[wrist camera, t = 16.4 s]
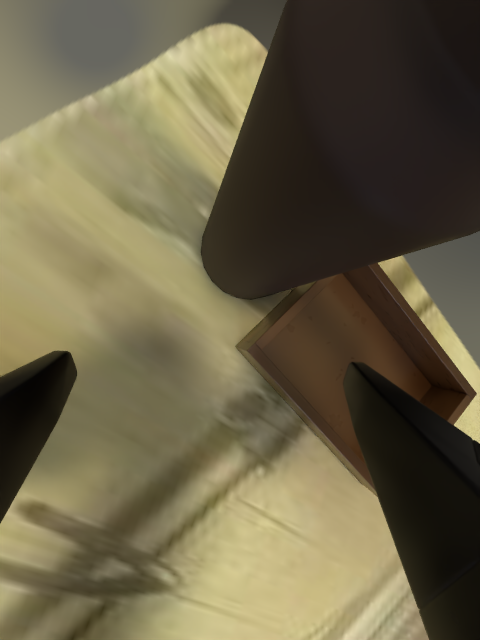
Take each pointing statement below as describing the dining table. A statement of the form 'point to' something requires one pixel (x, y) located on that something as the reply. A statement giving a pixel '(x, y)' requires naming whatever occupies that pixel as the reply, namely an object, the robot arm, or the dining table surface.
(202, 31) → the dining table surface
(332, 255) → the vinegar
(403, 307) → the tray
